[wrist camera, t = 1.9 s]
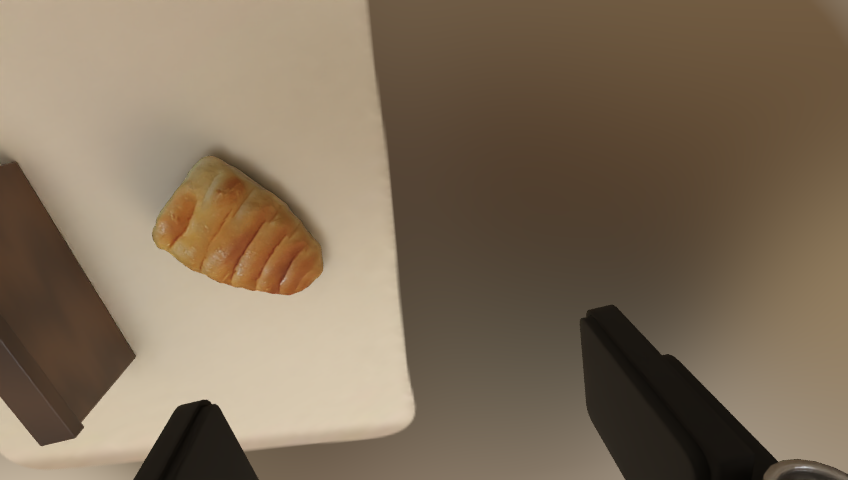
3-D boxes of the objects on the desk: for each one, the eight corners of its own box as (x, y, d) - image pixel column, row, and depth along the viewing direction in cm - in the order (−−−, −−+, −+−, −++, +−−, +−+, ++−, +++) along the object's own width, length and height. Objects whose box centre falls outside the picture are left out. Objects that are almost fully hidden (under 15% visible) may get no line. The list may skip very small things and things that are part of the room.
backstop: (-66, 176, 24) (-225, 218, 18) (17, 156, 24) (-112, 191, 18) (73, 374, 30) (-10, 458, 23) (140, 358, 30) (75, 438, 23)
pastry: (347, 229, 27) (342, 255, 24) (294, 305, 29) (281, 339, 26) (207, 143, 24) (177, 157, 21) (158, 233, 26) (122, 260, 23)
